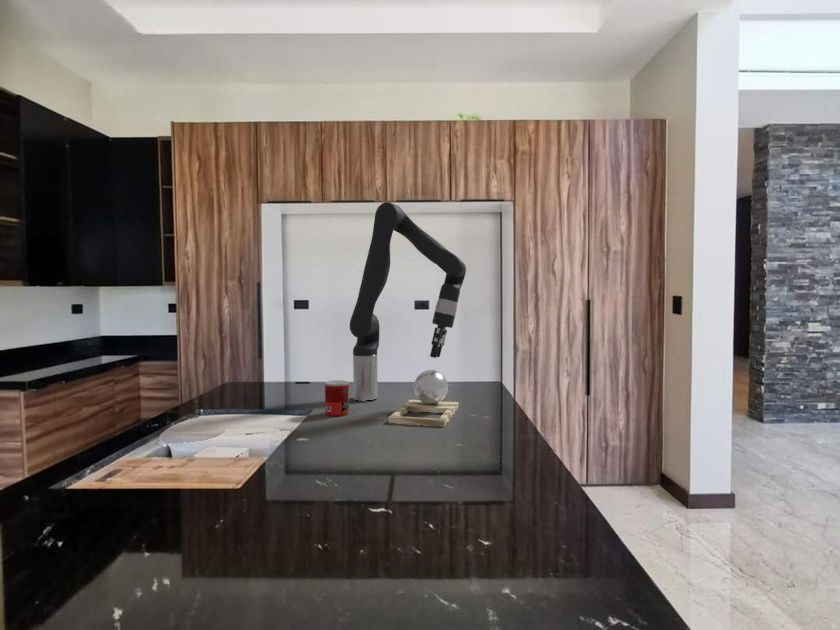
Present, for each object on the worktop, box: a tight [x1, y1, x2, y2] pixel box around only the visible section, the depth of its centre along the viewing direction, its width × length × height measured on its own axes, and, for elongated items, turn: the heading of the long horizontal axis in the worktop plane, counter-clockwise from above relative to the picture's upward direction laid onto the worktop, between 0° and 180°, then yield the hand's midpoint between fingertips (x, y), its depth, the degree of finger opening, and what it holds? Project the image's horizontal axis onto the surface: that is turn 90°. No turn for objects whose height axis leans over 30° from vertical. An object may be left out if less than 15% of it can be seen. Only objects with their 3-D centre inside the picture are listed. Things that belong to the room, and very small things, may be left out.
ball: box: [413, 369, 449, 404], centre depth 182 cm, size 12×12×12 cm
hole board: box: [387, 399, 460, 428], centre depth 174 cm, size 26×18×2 cm
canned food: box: [324, 379, 350, 418], centre depth 176 cm, size 8×8×11 cm
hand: (434, 357), depth 185 cm, fingers open, 8 cm apart
